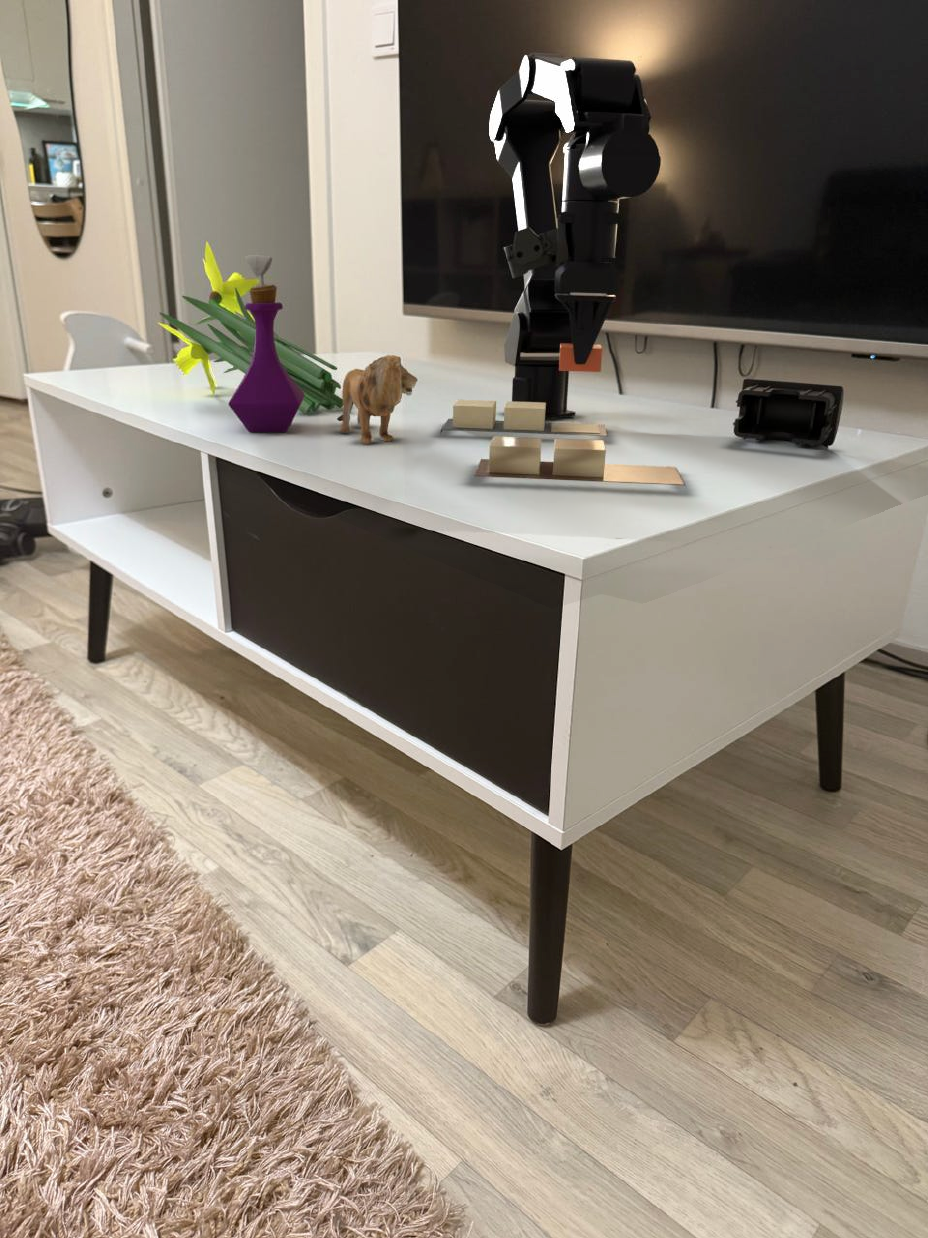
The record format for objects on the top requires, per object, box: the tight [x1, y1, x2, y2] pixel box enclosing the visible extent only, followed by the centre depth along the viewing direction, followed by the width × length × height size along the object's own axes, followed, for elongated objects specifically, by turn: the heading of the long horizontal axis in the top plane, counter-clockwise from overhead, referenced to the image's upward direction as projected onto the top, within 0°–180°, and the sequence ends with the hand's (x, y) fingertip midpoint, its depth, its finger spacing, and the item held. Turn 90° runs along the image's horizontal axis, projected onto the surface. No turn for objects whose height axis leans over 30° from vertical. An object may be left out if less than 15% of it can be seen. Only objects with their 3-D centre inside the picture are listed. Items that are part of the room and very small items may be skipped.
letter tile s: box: [559, 343, 603, 373], centre depth 97 cm, size 4×4×2 cm
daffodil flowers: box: [156, 241, 343, 415], centre depth 120 cm, size 17×15×35 cm
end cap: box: [732, 378, 845, 449], centre depth 95 cm, size 10×7×7 cm
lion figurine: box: [336, 354, 418, 445], centre depth 96 cm, size 15×5×9 cm, turn 33°
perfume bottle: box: [228, 254, 305, 433], centre depth 97 cm, size 8×8×18 cm
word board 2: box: [473, 435, 686, 486], centre depth 80 cm, size 18×7×3 cm, turn 84°
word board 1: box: [439, 399, 608, 437], centre depth 100 cm, size 18×7×3 cm, turn 84°
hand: (579, 361), depth 97 cm, fingers closed on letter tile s, 4 cm apart
